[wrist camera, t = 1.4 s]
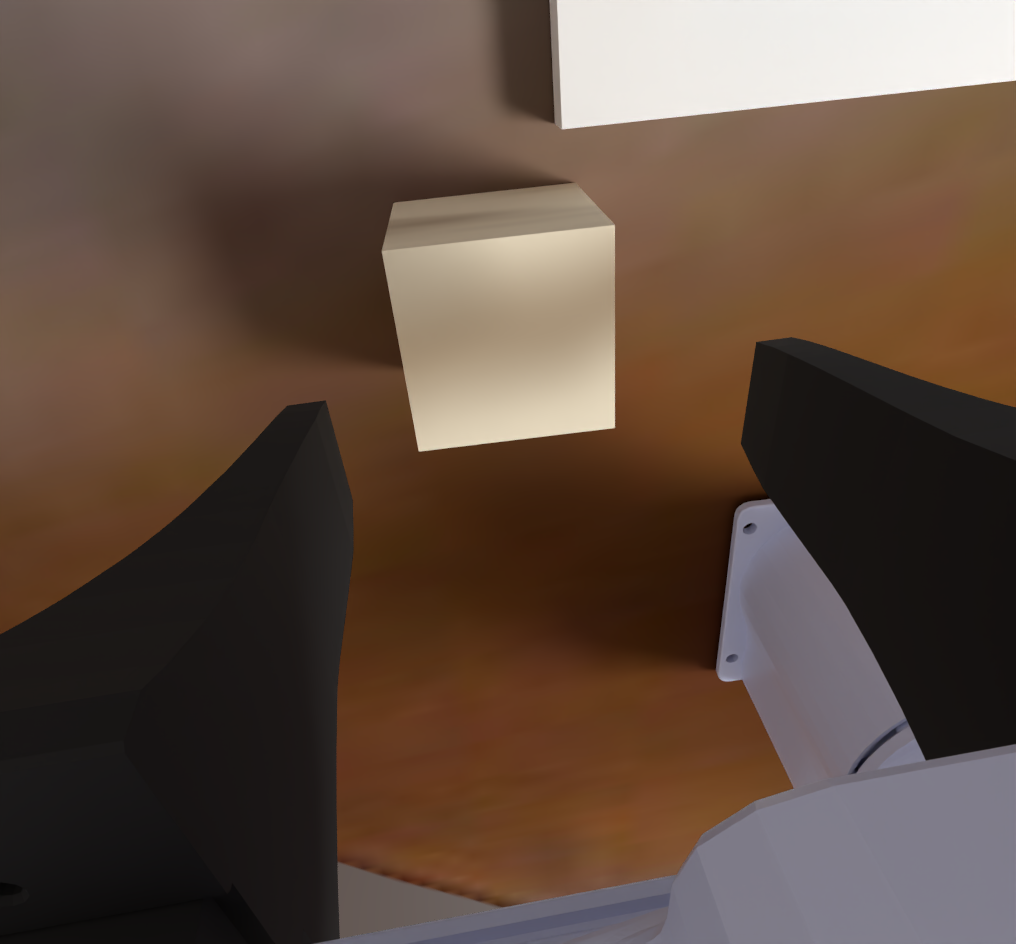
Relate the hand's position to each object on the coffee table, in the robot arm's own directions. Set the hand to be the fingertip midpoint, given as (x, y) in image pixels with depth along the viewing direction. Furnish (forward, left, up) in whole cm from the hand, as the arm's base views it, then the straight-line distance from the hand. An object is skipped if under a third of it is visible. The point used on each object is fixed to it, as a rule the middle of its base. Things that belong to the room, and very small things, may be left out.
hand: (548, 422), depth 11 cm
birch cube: (-1, 0, -10) cm, 10 cm away
